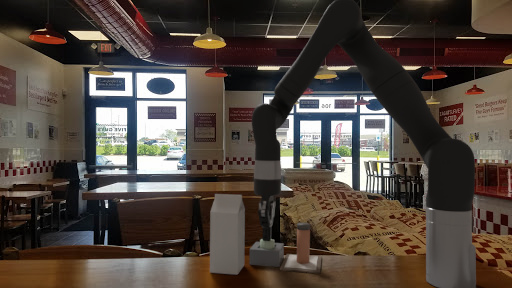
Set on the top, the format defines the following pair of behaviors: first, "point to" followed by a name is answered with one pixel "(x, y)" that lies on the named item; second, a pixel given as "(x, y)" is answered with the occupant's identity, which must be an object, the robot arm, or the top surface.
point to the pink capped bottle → (303, 242)
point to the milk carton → (227, 234)
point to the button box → (266, 255)
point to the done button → (267, 244)
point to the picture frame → (293, 265)
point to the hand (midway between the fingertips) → (266, 240)
